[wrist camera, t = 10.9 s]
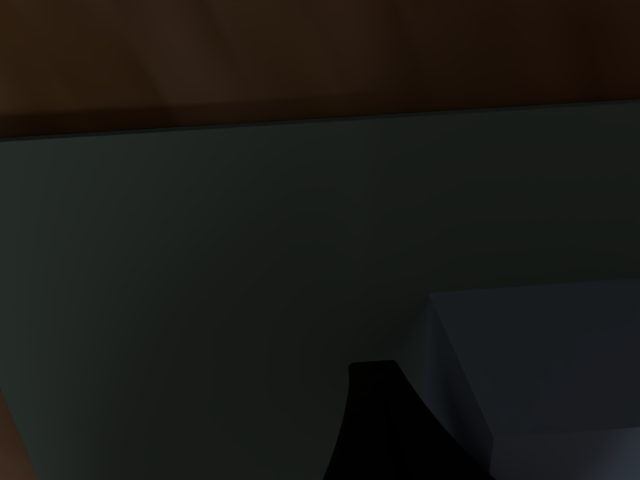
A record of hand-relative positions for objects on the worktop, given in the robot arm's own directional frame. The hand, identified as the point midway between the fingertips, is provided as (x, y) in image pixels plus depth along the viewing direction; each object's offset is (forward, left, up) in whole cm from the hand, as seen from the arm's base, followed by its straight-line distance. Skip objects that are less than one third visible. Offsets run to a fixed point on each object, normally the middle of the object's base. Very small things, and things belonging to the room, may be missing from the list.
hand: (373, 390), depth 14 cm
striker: (0, -5, -1) cm, 5 cm away
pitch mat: (0, -3, -2) cm, 3 cm away
